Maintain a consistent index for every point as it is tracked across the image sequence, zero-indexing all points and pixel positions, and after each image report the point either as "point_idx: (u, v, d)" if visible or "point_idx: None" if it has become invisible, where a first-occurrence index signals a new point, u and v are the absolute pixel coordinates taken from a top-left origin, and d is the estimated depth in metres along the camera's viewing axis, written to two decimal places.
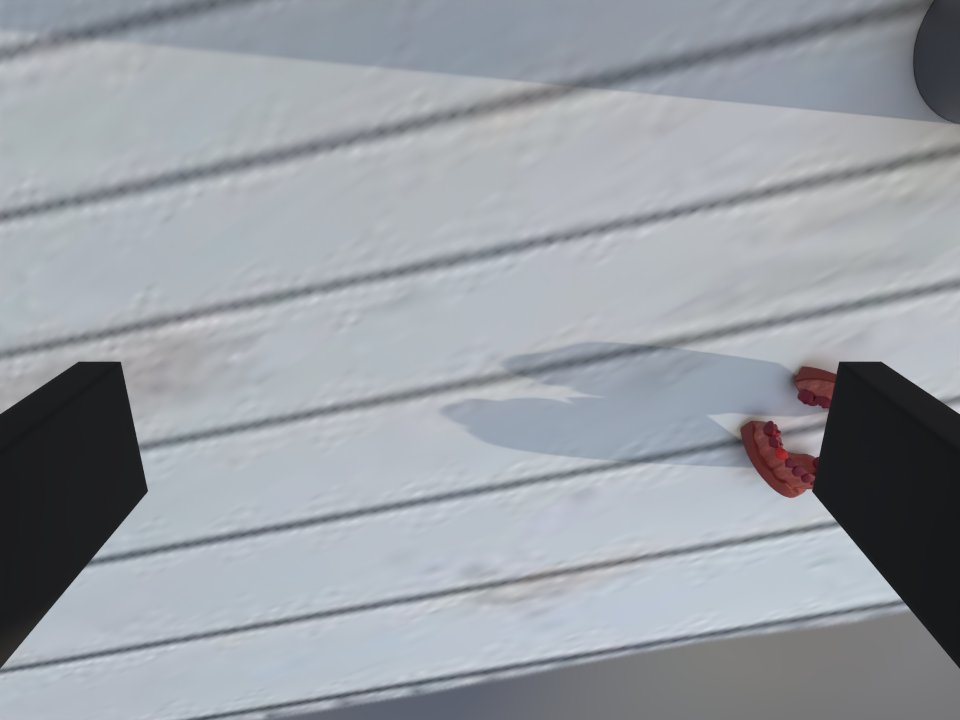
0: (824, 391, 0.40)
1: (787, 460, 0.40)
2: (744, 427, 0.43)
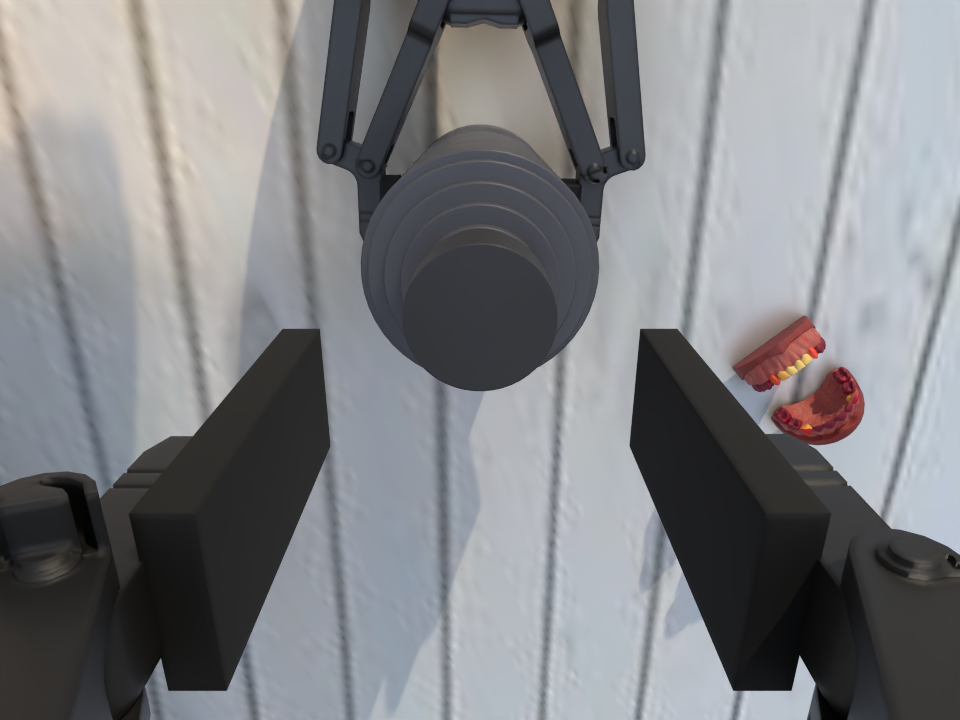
0: (757, 380, 0.42)
1: (813, 430, 0.41)
2: None
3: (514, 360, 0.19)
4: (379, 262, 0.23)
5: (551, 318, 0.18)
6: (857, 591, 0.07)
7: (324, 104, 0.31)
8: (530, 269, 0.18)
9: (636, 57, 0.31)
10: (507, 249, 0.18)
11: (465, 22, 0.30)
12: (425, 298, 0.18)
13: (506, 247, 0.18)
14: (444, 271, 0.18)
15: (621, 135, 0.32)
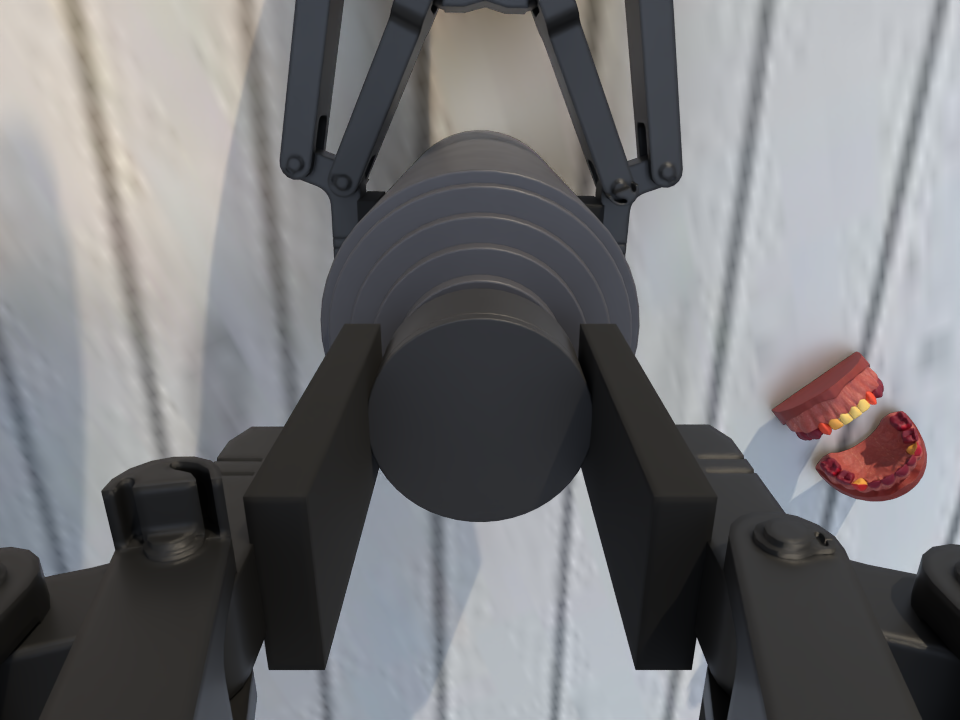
0: (803, 427, 0.36)
1: (869, 486, 0.36)
2: (820, 475, 0.39)
3: (530, 481, 0.13)
4: (344, 321, 0.17)
5: (585, 424, 0.13)
6: (735, 575, 0.07)
7: (287, 106, 0.25)
8: (555, 355, 0.12)
9: (673, 48, 0.25)
10: (521, 326, 0.12)
11: (462, 5, 0.24)
12: (399, 396, 0.12)
13: (519, 323, 0.12)
14: (427, 358, 0.12)
15: (653, 144, 0.26)
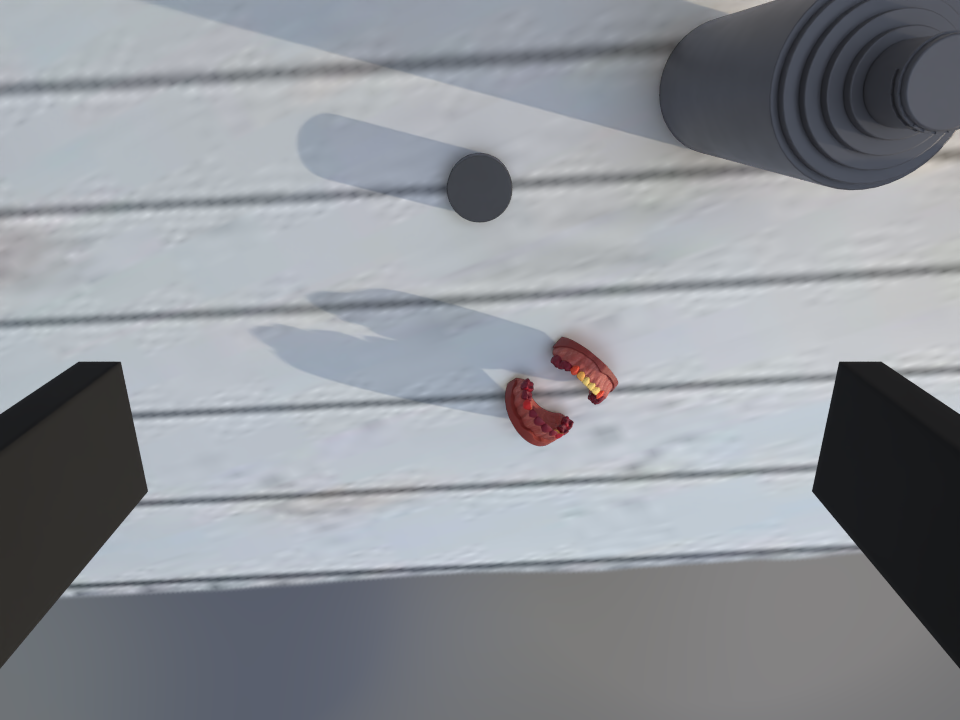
0: (568, 357, 0.48)
1: (530, 410, 0.48)
2: (509, 383, 0.51)
3: (501, 181, 0.44)
4: None
5: (488, 159, 0.43)
6: None
7: None
8: (465, 161, 0.44)
9: None
10: (454, 168, 0.44)
11: None
12: (463, 208, 0.45)
13: (453, 168, 0.44)
14: (455, 196, 0.44)
15: None
